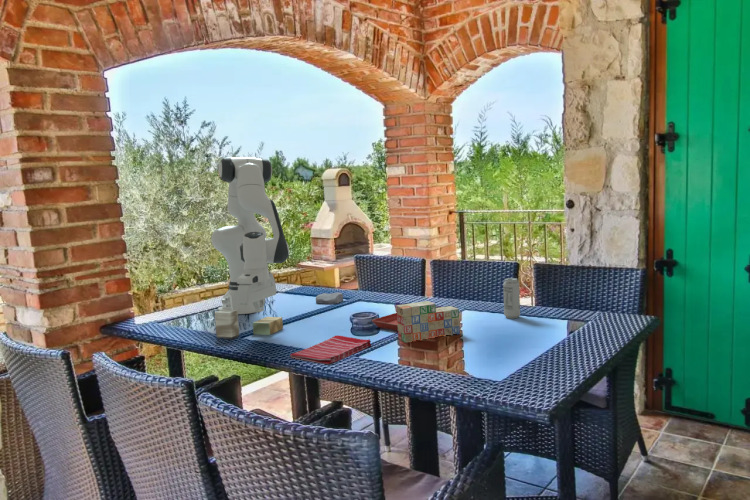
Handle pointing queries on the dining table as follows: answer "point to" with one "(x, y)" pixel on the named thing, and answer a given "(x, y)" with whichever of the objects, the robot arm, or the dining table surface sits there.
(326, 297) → the stone block
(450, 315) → the stack of blocks
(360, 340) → the dish towel
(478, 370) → the dining table surface
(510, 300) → the energy drink can
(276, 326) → the oak block
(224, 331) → the pine block
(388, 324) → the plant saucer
